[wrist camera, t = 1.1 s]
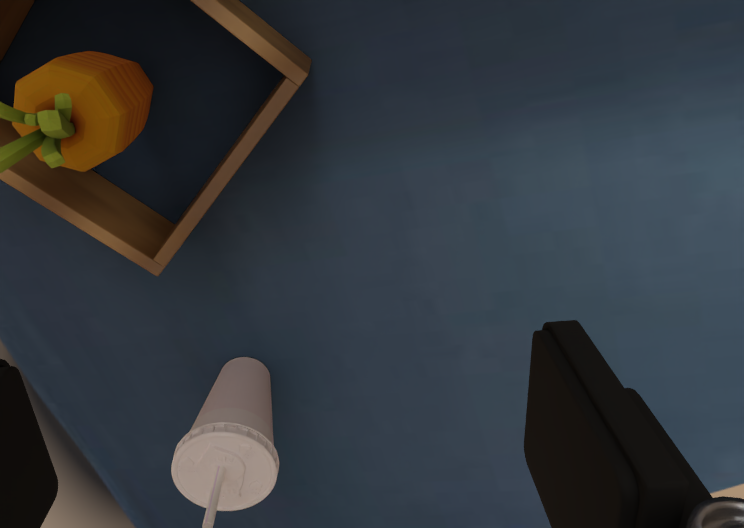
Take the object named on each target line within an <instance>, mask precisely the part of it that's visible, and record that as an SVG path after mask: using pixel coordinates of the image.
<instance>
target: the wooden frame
mask: <svg viewBox="0 0 744 528" xmlns="http://www.w3.org/2000/svg"><path fill="white" fill-rule="evenodd" d="M34 1H35V0H0V63H1V61H2V59H3V57H4V55H5V54H6V52H7V50H8V48H9V46H10V45H11V43H12V41H13V39H14V37H15V35H16V34H17V32H18V30H19V28H20V26H21V25H22V23H23V21H24V19H25V17H26V16H27V14H28V12H29V10H30V8H31V7H32V5H33V3H34ZM190 1H192V2H193V3H194V4H195V5H197V6H198V7H199V8H200V9H202V10H203V11H204V12H205V13H207V14H208V15H209V16H210V17H212V18H213V19H214V20H216V21H217V22H218V23H219V24H221V25H222V26H223V27H224V28H226V29H227V30H228V31H229V32H231V33H232V34H233V35H234V36H236V37H237V38H238V39H239V40H241V41H242V42H243V43H245V44H246V45H247V46H248V47H250V48H251V49H252V50H253V51H255V52H256V53H257V54H258V55H260V56H261V57H262V58H263V59H265V60H266V61H267V62H268V63H270V64H271V65H272V66H274V67H275V68H276V69H277V70H279V71H280V72H281V73H282V74H284V76H283V77H282V78H281V80H280V81H279V83H278V84H277V85H276V87H275V88H274V89H273V91H272V92H271V93H270V95H269V96H268V98H267V99H266V100H265V102H264V103H263V104H262V106H261V107H260V109H259V110H258V111H257V113H256V114H255V115H254V117H253V118H252V120H251V121H250V122H249V124H248V125H247V126H246V128H245V129H244V130H243V132H242V133H241V135H240V136H239V137H238V139H237V140H236V141H235V143H234V144H233V146H232V147H231V148H230V150H229V151H228V152H227V154H226V155H225V156H224V158H223V159H222V161H221V162H220V163H219V165H218V166H217V167H216V169H215V170H214V172H213V173H212V174H211V176H210V177H209V178H208V180H207V181H206V183H205V184H204V185H203V187H202V188H201V189H200V191H199V192H198V193H197V195H196V196H195V198H194V199H193V200H192V202H191V203H190V204H189V206H188V207H187V209H186V210H185V211H184V213H183V214H182V215H181V217H180V218H179V219H178V221H177V222H176V224H173V223H172V222H170V221H169V220H167V219H166V218H164V217H163V216H161V215H160V214H158V213H157V212H155V211H154V210H152V209H151V208H149V207H147V206H146V205H144V204H143V203H141V202H140V201H138V200H137V199H135V198H134V197H132V196H131V195H129V194H128V193H126V192H125V191H123V190H122V189H120V188H119V187H117V186H116V185H114V184H112V183H111V182H109V181H108V180H106V179H105V178H103V177H102V176H100V175H99V174H97V173H96V172H94V171H93V170H91V169H90V170H88V171H86V172H81V171H77V170H73V169H70V168H66V167H62V166H58V167H55V168H51V167H50V166H49V165H48V164H47V163H46V162H44V161H40V160H39V159H38V157H37V156H36V155H35V153H34V152H31V153H30V154H28V155H27V156H25V157H24V158H23V159H21V160H20V161H18V162H17V163H15V164H14V165H12V166H11V167H9V168H8V169H6V170H5V171H4V172H2V173H0V179H1V180H2V181H4V182H6V183H7V184H9V185H10V186H12V187H14V188H15V189H17V190H18V191H20V192H22V193H23V194H25V195H26V196H28V197H30V198H31V199H33V200H35V201H36V202H38V203H39V204H41V205H43V206H44V207H46V208H47V209H49V210H51V211H52V212H54V213H55V214H57V215H59V216H60V217H62V218H64V219H65V220H67V221H68V222H70V223H72V224H73V225H75V226H76V227H78V228H80V229H81V230H83V231H85V232H86V233H88V234H89V235H91V236H93V237H94V238H96V239H97V240H99V241H101V242H102V243H104V244H105V245H107V246H109V247H110V248H112V249H114V250H115V251H117V252H118V253H120V254H122V255H123V256H125V257H126V258H128V259H130V260H131V261H133V262H135V263H136V264H138V265H139V266H141V267H143V268H144V269H146V270H147V271H149V272H151V273H152V274H154V275H155V276H159V275H160V273H161V272H162V271H163V269H164V268H165V267H166V265H167V264H168V263H169V261H170V260H171V259H172V257H173V256H174V255H175V253H176V252H177V251H178V249H179V248H180V247H181V245H182V244H183V243H184V241H185V240H186V239H187V237H188V236H189V235H190V233H191V232H192V231H193V229H194V228H195V226H196V225H197V224H198V222H199V221H200V220H201V218H202V217H203V216H204V214H205V213H206V212H207V210H208V209H209V208H210V206H211V205H212V204H213V202H214V201H215V200H216V198H217V197H218V196H219V194H220V193H221V192H222V190H223V189H224V188H225V186H226V185H227V184H228V182H229V181H230V180H231V178H232V177H233V175H234V174H235V173H236V171H237V170H238V169H239V167H240V166H241V165H242V163H243V162H244V161H245V159H246V158H247V157H248V155H249V154H250V153H251V151H252V150H253V149H254V147H255V146H256V145H257V143H258V142H259V141H260V139H261V138H262V137H263V135H264V134H265V133H266V131H267V130H268V129H269V127H270V126H271V124H272V123H273V122H274V120H275V119H276V118H277V116H278V115H279V114H280V112H281V111H282V110H283V108H284V107H285V106H286V104H287V103H288V102H289V100H290V99H291V98H292V96H293V95H294V94H295V92H296V91H297V90H298V88H299V86H301V84H302V83H303V82H304V80H305V79H306V78H307V76H308V74H309V70H310V66H311V62H312V60H311V59H310V58H309V57H308V56H306V55H305V54H304V53H303V52H302V51H300V50H299V49H298V48H297V47H295V46H294V45H293V44H292V43H291V42H289V41H288V40H287V39H286V38H284V37H283V36H282V35H281V34H279V33H278V32H277V31H276V30H275V29H273V28H272V27H271V26H270V25H268V24H267V23H266V22H265V21H264V20H262V19H261V18H260V17H259V16H257V15H256V14H255V13H254V12H253V11H251V10H250V9H249V8H248V7H246V6H245V5H244V4H243V3H241V2H240V1H239V0H190ZM19 138H21V135H20V134H19V133H18V132H17V130H16V129H15V128H14V127H13V125H12V121H9V120H6V119H3V118H0V148H1V147H3V146H5V145H7V144H9V143H11V142H13V141H15V140H17V139H19Z"/></svg>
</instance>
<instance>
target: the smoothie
mask: <svg viewBox="0 0 744 528" xmlns="http://www.w3.org/2000/svg"><path fill="white" fill-rule="evenodd" d="M278 469H279V458H278V454H277V451H276V449H275V448H274V444H273V425H272V404H271V382H270V373H269V371H268V369H267V368H266V366H265V365H264V364H263V363H261V362H260V361H258V360H256V359H253V358H249V357H239V358H235V359H232V360H230V361H229V362H227V363H226V364H225V365H224V366H223V368H222V370H221V372H220V374H219V376H218V377H217V379H216V381H215V383H214V385H213V387H212V389H211V391H210V393H209V395H208V397H207V399H206V401H205V403H204V405H203V407H202V409H201V411H200V413H199V415H198V417H197V418H196V420H195V422H194V424H193V426H192V428H191V430H190V432H189V433H187V434H186V435H185V436H184V437H183V438H182V439H181V441H180V442H179V443H178V444H177V447H176V450H175V452H174V458H173V461H172V466H171V473H172V478H173V481H174V483H175V485H176V487H177V488H178V490H179V491H180V492H181V493H182V494H183V495H184V496H185V497H186V498H187V499H189V500H190V501H192V502H193V503H195V504H197V505H200V506H202V507H205V508H207V509H206V513H205V517H204V521H203V525H202V527H203V528H213V524H214V520H215V515H216V510H219V511H235V510H241V509H245V508H248V507H251V506H253V505H255V504H257V503H259V502H260V501H262V500H263V499H264V498H266V497H267V496H268V495H269V493H270V492H271V491H272V489H273V487H274V485H275V483H276V479H277V474H278Z"/></svg>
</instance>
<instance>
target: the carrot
mask: <svg viewBox="0 0 744 528" xmlns="http://www.w3.org/2000/svg"><path fill="white" fill-rule="evenodd" d="M153 87H154V86H153V85H152V83H151V82H150V80H149V79H148V77H147V76H146V74H145V72H144V71H143V69H142V68H141V66H140V65H139V63H136V62H133V61H130V60H127V59H123V58H120V57H117V56H114V55H110V54H106V53H101V52H94V51H85V52H79V53H73V54H69V55H65V56H61V57H57V58H55V59H53V60H51V61H50V62H48V63H46V64H45V65H43V66H41V67H40V68H38V69H36V70H35V71H33V72H31V73H30V74H28V75H26V76H25V77H23V78H21V79H20V80H18V81H17V82H16V84H15V96H14V108H12V107H10V106H8V105H5V104H3V103H2V102H0V118H3V119H6V120H9V121H12V125H13V127H14V128H15V129H16V130H17V132H18V133H19V134H20V135H21V138H19V139H17V140H15V141H13V142H11V143H9V144H7V145H5V146H3V147H1V148H0V173H2V172H4V171H5V170H6V169H8V168H9V167H11V166H12V165H14V164H15V163H17V162H18V161H20V160H21V159H23V158H24V157H25V156H27V155H28V154H30V153H31V152H34V153H35V155H36V156H37V157H38V159H39V160H40V161H44V162H46V163H47V164H48V165H49V166H50V167H51V168H55V167H58V166H62V167H66V168H70V169H73V170H77V171H81V172H86V171H88V170H90V169H91V168H93V167H95V166H97V165H99V164H100V163H102V162H104V161H106V160H108V159H109V158H111V157H113V156H115V155H117V154H118V153H120V152H122V151H123V150H124V149H125V148H126V147H127V146H129V145H130V144H131V143H132V142H133V141H134V140H135V138H136V137H137V136H138V135H139V134H140V133H141V131H142V130H143V128H144V126H145V123H146V121H147V118H148V114H149V110H150V104H151V98H152V93H153Z"/></svg>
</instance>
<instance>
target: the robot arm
mask: <svg viewBox="0 0 744 528" xmlns="http://www.w3.org/2000/svg"><path fill="white" fill-rule="evenodd" d="M524 452H525V458H526V462H527V465H528V468H529V470H530V473H531V475H532V478H533V481H534V483H535V486H536V488H537V491H538V494H539V496H540V499H541V501H542V504H543V506H544V509H545V512H546V514H547V517H548V519H549V522H550V525H551V527H552V528H744V499H741V498H733V497H718V498H712V496H711V495H710V493H709V492H708V491H707V489H706V488H705V486H704V485H703V484H702V482H701V481H700V479H699V478H698V476H697V475H696V474H695V472H694V471H693V469H692V468H691V467H690V465H689V464H688V462H687V461H686V460H685V458H684V457H683V455H682V454H681V453H680V451H679V450H678V448H677V447H676V446H675V444H674V443H673V441H672V440H671V439H670V437H669V436H668V434H667V433H666V432H665V430H664V429H663V427H662V426H661V425H660V423H659V422H658V420H657V419H656V417H655V416H654V415H653V413H652V412H651V410H650V409H649V408H648V406H647V405H646V403H645V402H644V401H643V399H642V398H641V396H640V395H639V394H638V393H637V392H636V391H635V390H633V389H631V388H624V387H623V386H622V384H621V383H620V381H619V380H618V378H617V377H616V376H615V374H614V373H613V371H612V370H611V368H610V367H609V365H608V364H607V362H606V361H605V360H604V358H603V357H602V355H601V354H600V352H599V351H598V349H597V348H596V346H595V345H594V344H593V342H592V341H591V339H590V338H589V336H588V335H587V333H586V332H585V330H584V329H583V328H582V326H581V325H580V323H579V322H578V321H576V320H572V321H557V322H546V323H545V324H544V325H543V328H542V330H540V331H535V332H534V334H533V339H532V351H531V364H530V376H529V388H528V401H527V413H526V425H525V438H524ZM57 491H58V479H57V476H56V473H55V470H54V467H53V464H52V462H51V459H50V456H49V453H48V450H47V448H46V445H45V442H44V439H43V436H42V433H41V431H40V428H39V425H38V422H37V419H36V417H35V414H34V411H33V408H32V405H31V403H30V400H29V397H28V394H27V392H26V389H25V386H24V383H23V380H22V377H21V375H20V372H19V370H18V369H17V368H16V367H13V366H11V367H10V365H9V364H8V363H7V362H6V361H5V360H2V359H0V528H40V527H41V525H42V523H43V521H44V519H45V518H46V515H47V514H48V512H49V510H50V508H51V506H52V504H53V502H54V500H55V498H56V495H57Z"/></svg>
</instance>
